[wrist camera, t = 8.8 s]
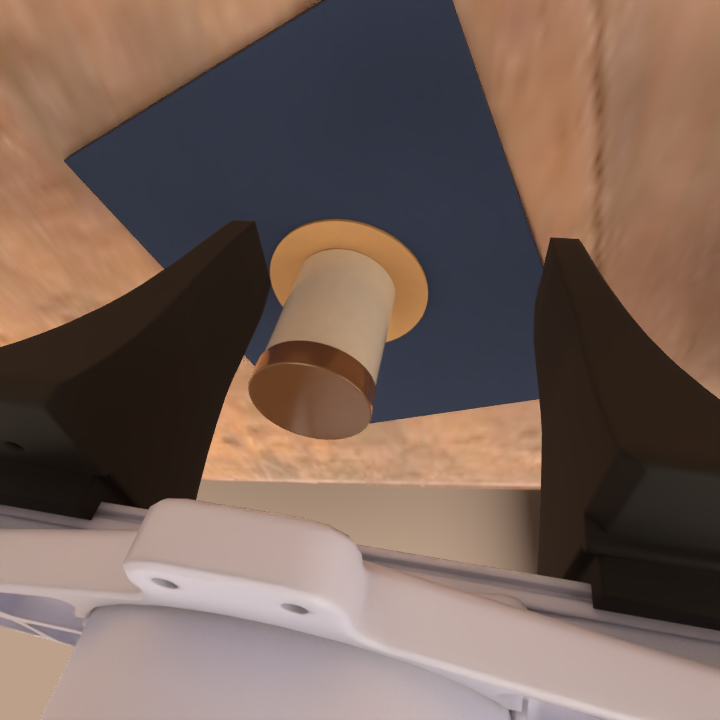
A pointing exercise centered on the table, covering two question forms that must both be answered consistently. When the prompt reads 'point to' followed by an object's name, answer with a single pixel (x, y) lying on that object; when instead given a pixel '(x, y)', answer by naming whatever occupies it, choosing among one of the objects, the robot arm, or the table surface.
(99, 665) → the robot arm
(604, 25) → the table surface
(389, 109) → the desk pad
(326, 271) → the jar
